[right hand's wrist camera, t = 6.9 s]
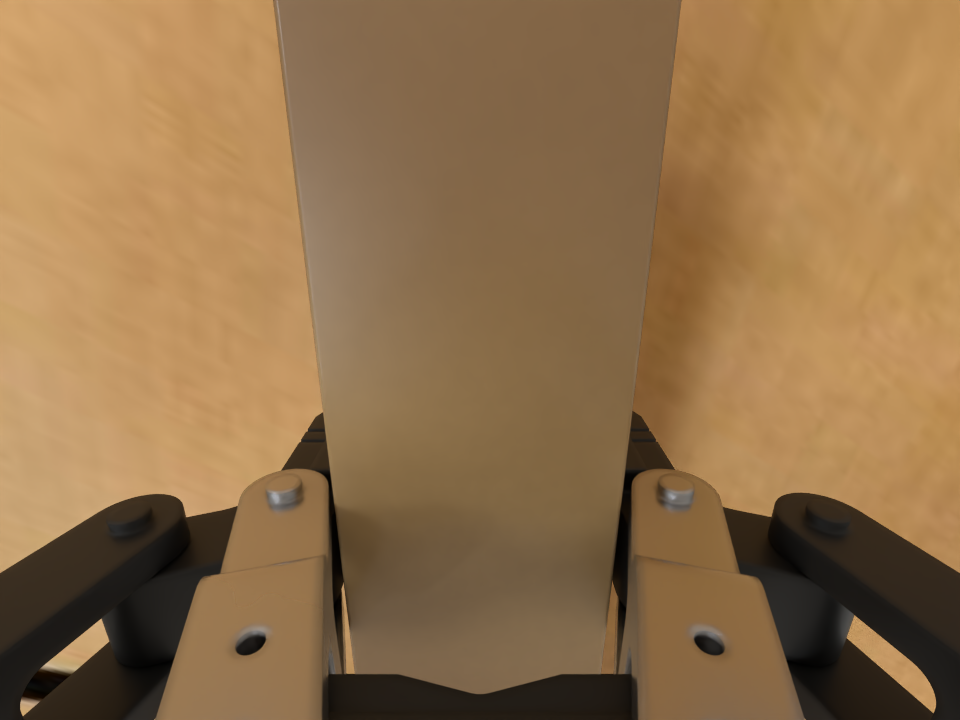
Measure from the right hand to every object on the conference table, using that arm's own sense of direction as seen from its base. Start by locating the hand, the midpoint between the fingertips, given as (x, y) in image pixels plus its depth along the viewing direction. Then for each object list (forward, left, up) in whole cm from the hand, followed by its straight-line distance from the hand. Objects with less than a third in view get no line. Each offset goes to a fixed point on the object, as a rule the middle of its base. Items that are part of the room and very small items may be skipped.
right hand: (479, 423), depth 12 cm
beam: (+32, -7, -2) cm, 33 cm away
